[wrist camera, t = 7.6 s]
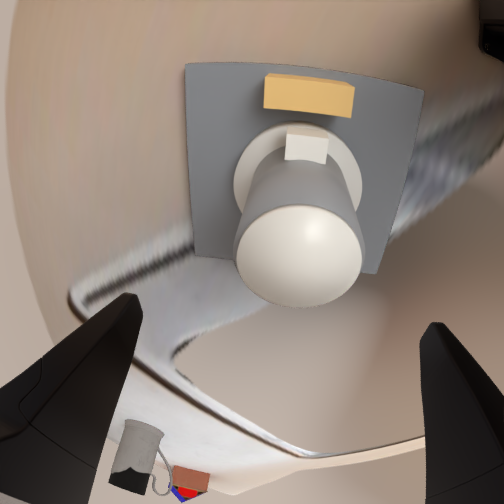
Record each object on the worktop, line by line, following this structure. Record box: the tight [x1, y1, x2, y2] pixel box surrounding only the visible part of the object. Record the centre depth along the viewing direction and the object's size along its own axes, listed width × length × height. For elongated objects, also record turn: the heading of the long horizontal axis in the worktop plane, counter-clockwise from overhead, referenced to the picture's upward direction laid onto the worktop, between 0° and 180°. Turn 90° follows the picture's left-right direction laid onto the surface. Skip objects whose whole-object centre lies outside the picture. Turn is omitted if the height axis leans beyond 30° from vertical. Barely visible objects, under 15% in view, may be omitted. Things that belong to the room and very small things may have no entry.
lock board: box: [185, 62, 424, 274], centre depth 17 cm, size 13×13×4 cm
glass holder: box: [109, 419, 173, 496], centre depth 49 cm, size 9×14×15 cm, turn 44°
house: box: [168, 465, 210, 502], centre depth 79 cm, size 12×20×12 cm, turn 165°
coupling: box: [233, 126, 365, 308], centre depth 14 cm, size 7×5×6 cm
